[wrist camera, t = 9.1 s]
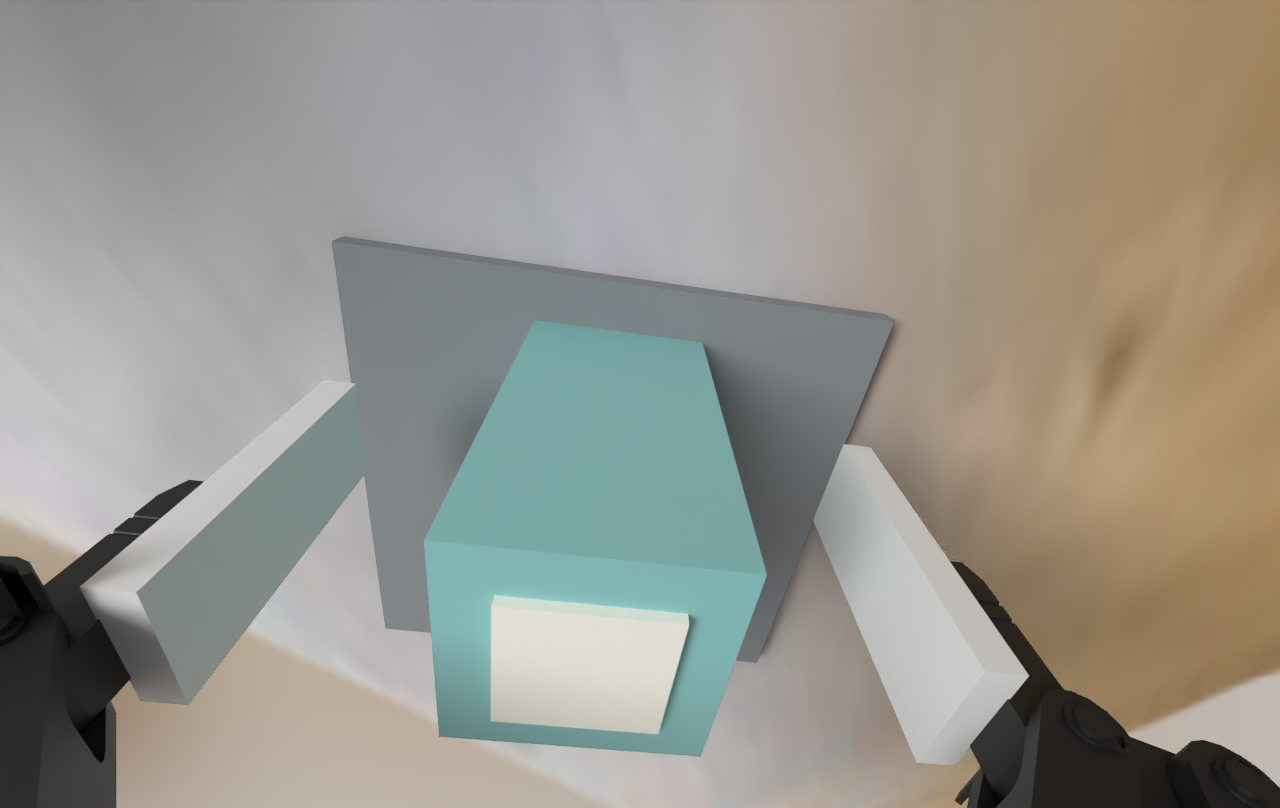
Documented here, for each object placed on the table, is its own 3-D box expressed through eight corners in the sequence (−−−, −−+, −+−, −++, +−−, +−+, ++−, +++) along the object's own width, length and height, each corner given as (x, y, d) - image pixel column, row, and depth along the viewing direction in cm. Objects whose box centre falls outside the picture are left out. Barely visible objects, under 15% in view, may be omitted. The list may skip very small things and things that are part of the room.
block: (702, 342, 16) (770, 585, 8) (673, 475, 18) (701, 767, 10) (534, 319, 15) (418, 550, 7) (528, 459, 18) (435, 747, 10)
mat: (885, 314, 16) (894, 321, 15) (754, 650, 24) (756, 662, 23) (342, 236, 15) (331, 241, 14) (391, 616, 22) (385, 628, 22)
